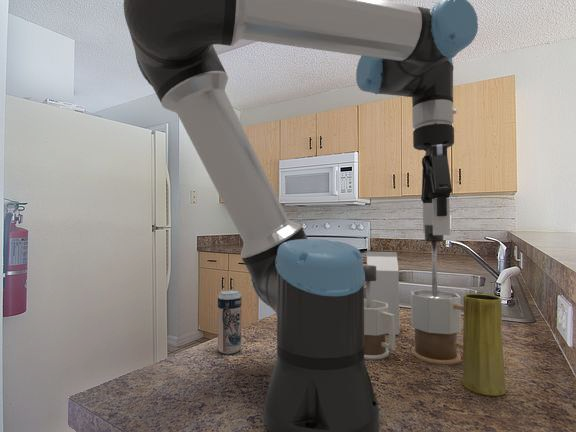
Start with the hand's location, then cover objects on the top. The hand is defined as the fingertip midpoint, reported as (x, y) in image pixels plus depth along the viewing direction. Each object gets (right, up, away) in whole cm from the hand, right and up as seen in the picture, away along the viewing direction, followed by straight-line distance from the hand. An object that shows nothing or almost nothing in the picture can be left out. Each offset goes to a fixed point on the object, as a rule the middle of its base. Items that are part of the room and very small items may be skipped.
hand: (435, 234), depth 67 cm
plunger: (0, -13, 0) cm, 13 cm away
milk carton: (-6, -25, +15) cm, 30 cm away
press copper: (+1, -24, -2) cm, 24 cm away
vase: (+2, -24, -14) cm, 27 cm away
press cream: (-12, -24, 0) cm, 27 cm away
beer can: (-41, -24, +2) cm, 48 cm away
